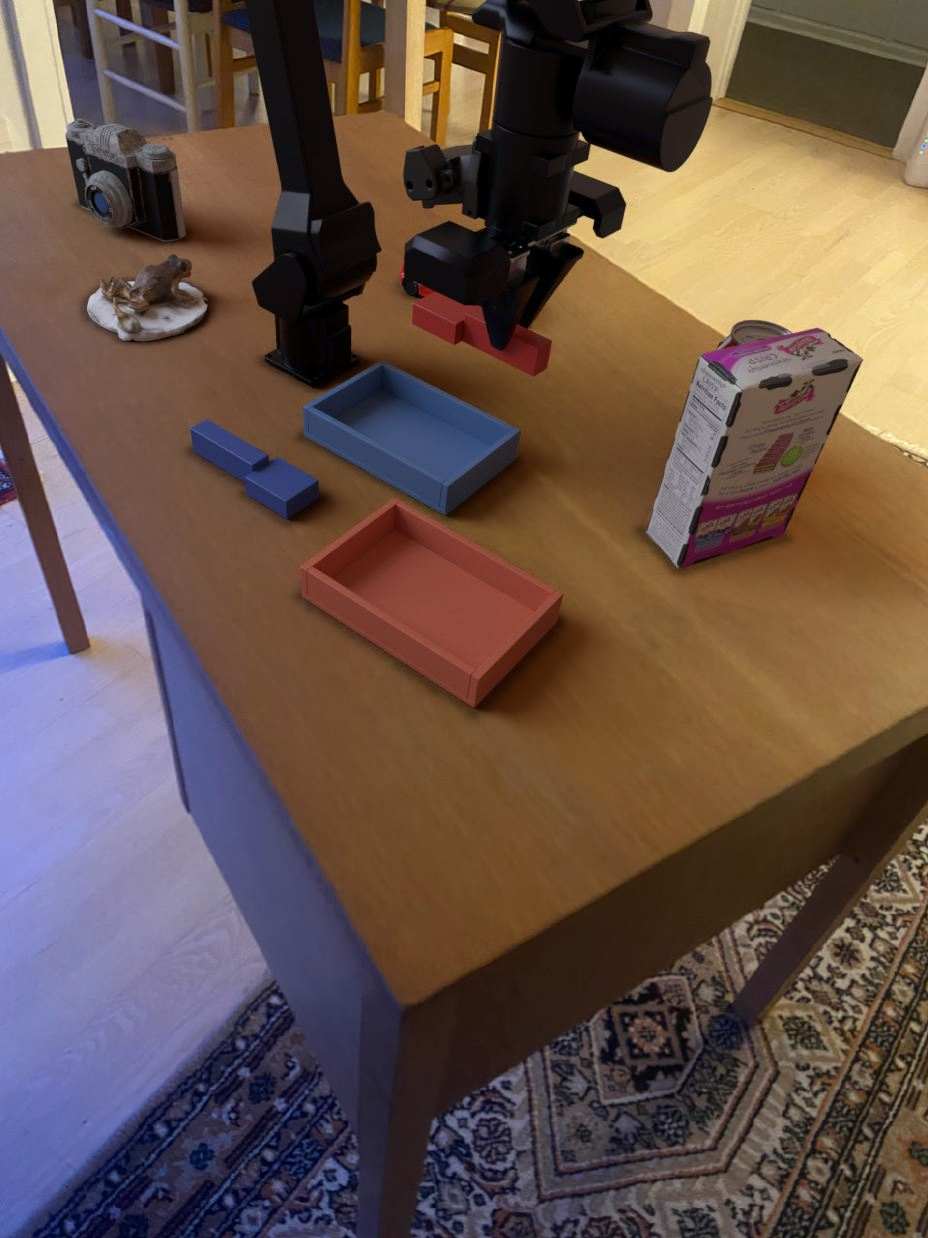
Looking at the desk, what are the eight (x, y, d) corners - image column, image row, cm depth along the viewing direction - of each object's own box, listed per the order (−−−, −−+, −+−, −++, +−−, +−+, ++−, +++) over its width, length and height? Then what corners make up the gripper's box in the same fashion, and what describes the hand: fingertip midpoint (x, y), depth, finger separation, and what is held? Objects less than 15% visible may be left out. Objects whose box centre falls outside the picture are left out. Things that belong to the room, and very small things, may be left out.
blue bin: (303, 436, 76) (302, 406, 74) (380, 388, 83) (381, 359, 80) (445, 516, 71) (448, 486, 69) (516, 459, 77) (521, 430, 75)
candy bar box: (745, 500, 76) (820, 323, 65) (784, 537, 74) (870, 359, 62) (639, 531, 72) (697, 349, 60) (676, 572, 69) (745, 388, 57)
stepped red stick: (554, 364, 69) (559, 335, 67) (527, 381, 67) (531, 353, 65) (440, 308, 73) (442, 280, 72) (411, 323, 71) (413, 295, 69)
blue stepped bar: (184, 456, 73) (180, 432, 71) (217, 437, 75) (214, 413, 73) (287, 519, 69) (285, 495, 67) (319, 497, 71) (318, 473, 69)
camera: (51, 211, 100) (28, 114, 93) (98, 194, 104) (79, 99, 97) (149, 254, 96) (133, 155, 88) (194, 233, 100) (182, 137, 92)
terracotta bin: (301, 597, 64) (300, 566, 62) (393, 526, 70) (394, 496, 68) (473, 708, 58) (478, 679, 56) (556, 622, 64) (564, 593, 62)
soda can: (758, 489, 78) (810, 366, 69) (680, 473, 78) (723, 349, 69) (756, 444, 82) (805, 324, 74) (683, 430, 83) (723, 308, 74)
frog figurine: (158, 266, 94) (152, 230, 91) (235, 311, 89) (231, 274, 87) (60, 301, 87) (51, 263, 85) (138, 351, 83) (130, 312, 80)
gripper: (521, 62, 66) (496, 268, 77) (342, 114, 55) (343, 345, 66) (651, 106, 61) (604, 317, 73) (485, 171, 51) (460, 407, 62)
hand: (505, 343), depth 69 cm, fingers closed on stepped red stick, 2 cm apart
